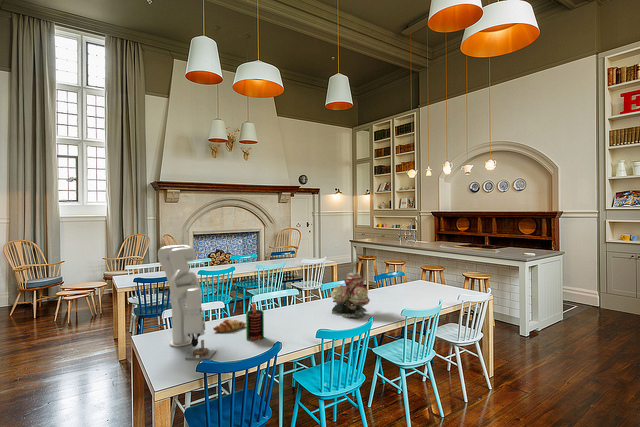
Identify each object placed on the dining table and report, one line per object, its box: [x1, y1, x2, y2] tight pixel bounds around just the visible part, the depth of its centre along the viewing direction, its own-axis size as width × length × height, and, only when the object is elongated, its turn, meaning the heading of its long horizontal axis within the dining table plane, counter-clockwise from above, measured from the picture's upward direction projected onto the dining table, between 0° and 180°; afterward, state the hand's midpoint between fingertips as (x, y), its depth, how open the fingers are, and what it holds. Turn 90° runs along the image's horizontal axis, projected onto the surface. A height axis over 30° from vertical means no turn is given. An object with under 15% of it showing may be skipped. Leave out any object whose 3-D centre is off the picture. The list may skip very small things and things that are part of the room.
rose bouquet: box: [329, 271, 371, 320], centre depth 255 cm, size 26×29×30 cm
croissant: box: [213, 319, 246, 333], centre depth 224 cm, size 21×10×8 cm, turn 122°
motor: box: [245, 303, 265, 342], centre depth 209 cm, size 10×9×20 cm
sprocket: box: [192, 339, 210, 357], centre depth 184 cm, size 8×8×6 cm
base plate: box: [185, 349, 217, 361], centre depth 184 cm, size 10×12×2 cm
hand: (194, 345), depth 187 cm, fingers closed
